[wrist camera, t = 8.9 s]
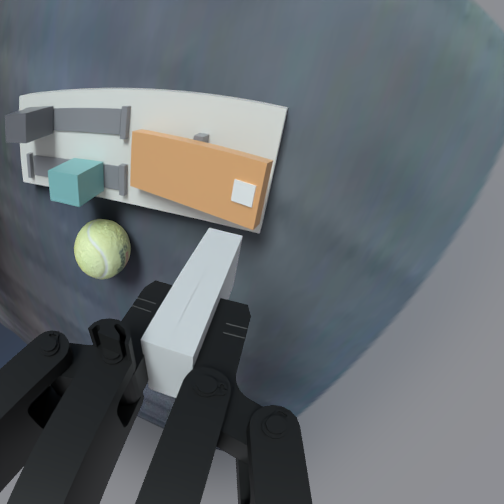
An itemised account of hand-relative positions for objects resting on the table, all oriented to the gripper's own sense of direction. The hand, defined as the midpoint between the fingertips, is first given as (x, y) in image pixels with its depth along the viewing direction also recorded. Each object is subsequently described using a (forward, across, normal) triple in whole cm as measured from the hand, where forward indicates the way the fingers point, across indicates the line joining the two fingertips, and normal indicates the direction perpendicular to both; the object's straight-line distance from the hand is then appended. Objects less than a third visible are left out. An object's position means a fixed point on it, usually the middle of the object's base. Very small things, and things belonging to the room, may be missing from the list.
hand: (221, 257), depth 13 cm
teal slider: (+12, -17, -2) cm, 21 cm away
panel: (+14, -14, 0) cm, 20 cm away
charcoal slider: (+12, -24, +3) cm, 27 cm away
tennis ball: (+14, -15, -11) cm, 23 cm away
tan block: (+10, -5, 0) cm, 11 cm away
